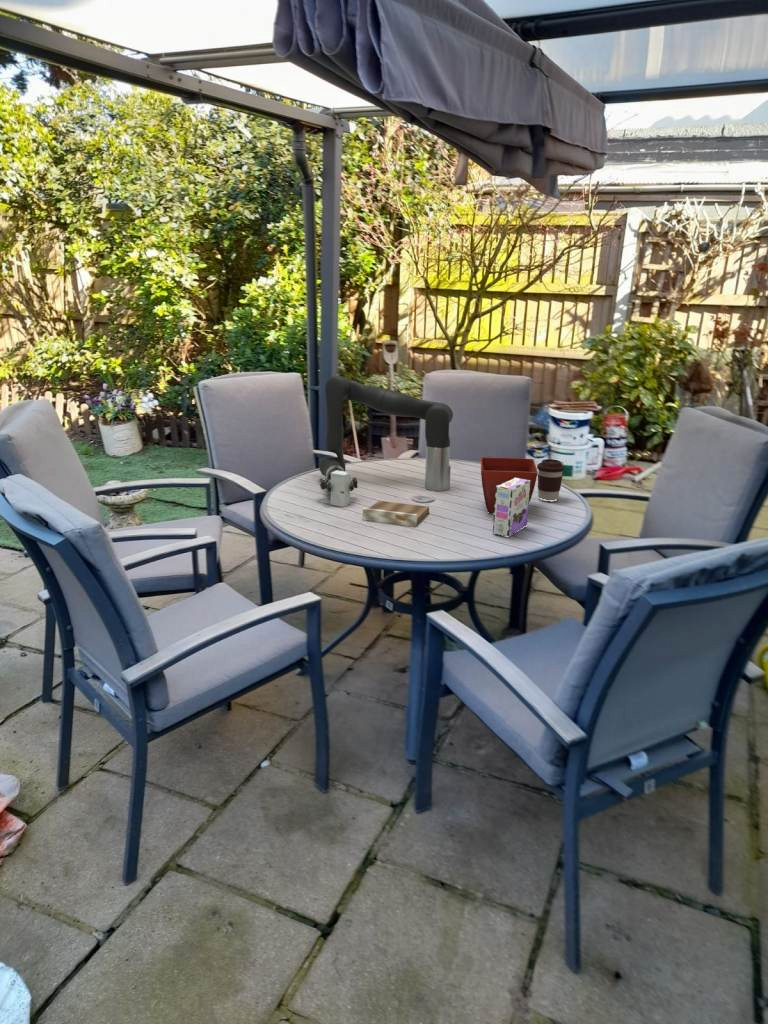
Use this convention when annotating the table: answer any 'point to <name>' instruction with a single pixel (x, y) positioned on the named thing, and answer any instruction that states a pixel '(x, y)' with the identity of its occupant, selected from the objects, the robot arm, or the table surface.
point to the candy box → (511, 506)
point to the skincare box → (340, 488)
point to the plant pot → (505, 475)
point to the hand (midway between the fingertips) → (340, 488)
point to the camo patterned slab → (396, 513)
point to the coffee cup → (549, 478)
